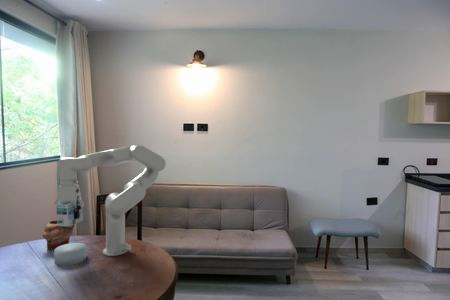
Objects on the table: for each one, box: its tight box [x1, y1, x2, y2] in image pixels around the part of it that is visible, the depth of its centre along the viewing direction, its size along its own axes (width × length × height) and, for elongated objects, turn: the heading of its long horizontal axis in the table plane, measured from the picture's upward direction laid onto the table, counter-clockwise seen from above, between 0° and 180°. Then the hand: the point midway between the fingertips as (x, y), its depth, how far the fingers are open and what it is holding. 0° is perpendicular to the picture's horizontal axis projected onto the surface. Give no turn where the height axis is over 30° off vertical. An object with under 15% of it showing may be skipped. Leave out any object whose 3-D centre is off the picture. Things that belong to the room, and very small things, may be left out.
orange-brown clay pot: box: [42, 219, 75, 250], centre depth 162 cm, size 20×12×14 cm, turn 170°
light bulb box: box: [55, 202, 84, 227], centre depth 144 cm, size 11×7×11 cm, turn 169°
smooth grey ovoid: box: [53, 242, 87, 267], centre depth 145 cm, size 14×14×6 cm
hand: (70, 217), depth 144 cm, fingers closed on light bulb box, 6 cm apart
